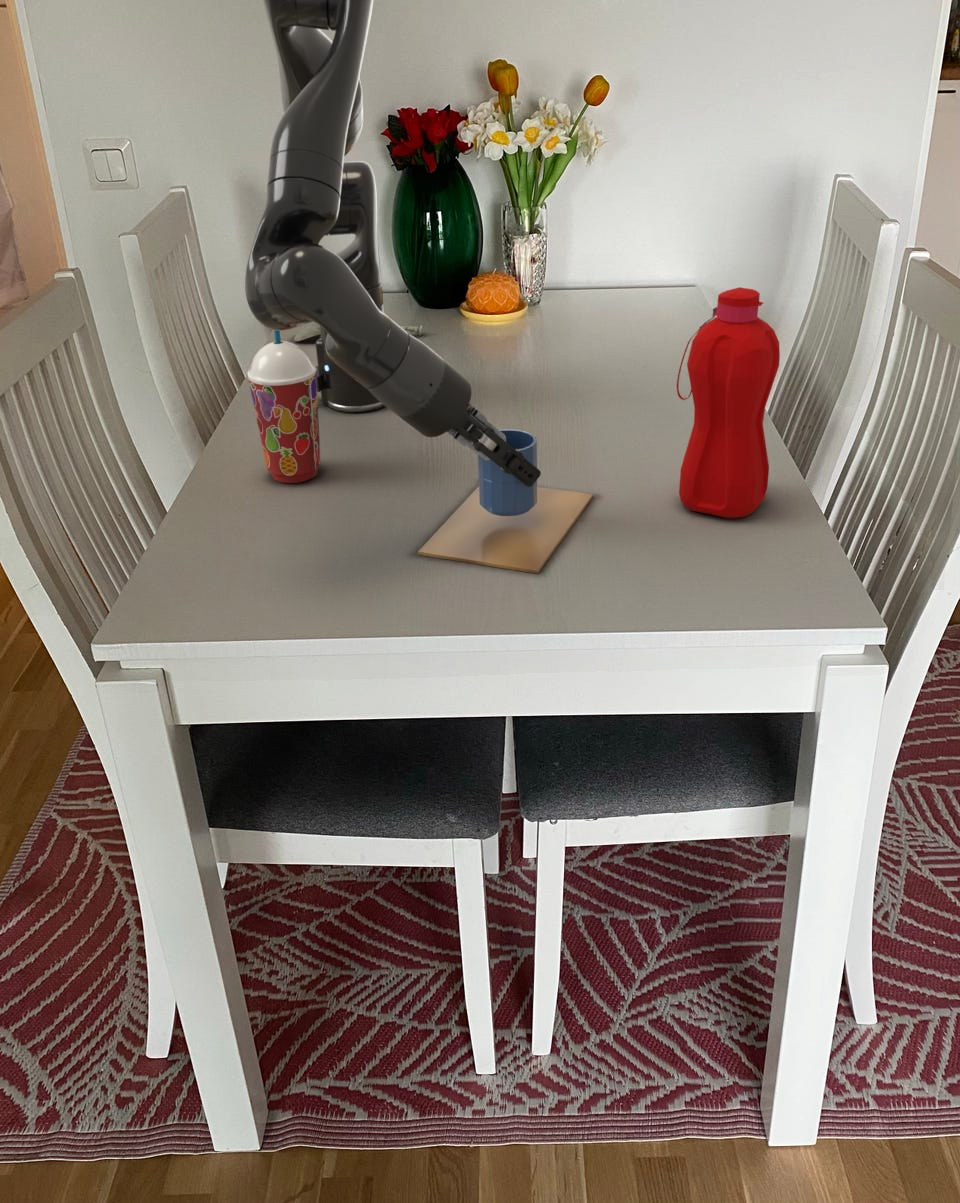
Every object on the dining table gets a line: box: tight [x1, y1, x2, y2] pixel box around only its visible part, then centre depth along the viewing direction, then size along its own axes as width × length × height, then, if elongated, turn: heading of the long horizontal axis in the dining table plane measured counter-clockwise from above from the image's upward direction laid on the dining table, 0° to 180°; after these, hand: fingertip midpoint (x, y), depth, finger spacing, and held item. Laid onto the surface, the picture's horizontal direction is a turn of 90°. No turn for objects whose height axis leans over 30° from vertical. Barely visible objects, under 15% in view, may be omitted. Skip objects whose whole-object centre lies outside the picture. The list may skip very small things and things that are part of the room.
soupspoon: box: [293, 322, 423, 343], centre depth 195 cm, size 22×3×7 cm
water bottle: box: [676, 286, 781, 520], centre depth 129 cm, size 9×11×25 cm
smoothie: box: [246, 330, 322, 484], centre depth 141 cm, size 8×8×20 cm
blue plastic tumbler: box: [477, 428, 538, 516], centre depth 129 cm, size 6×6×8 cm
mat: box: [417, 485, 594, 574], centre depth 132 cm, size 14×20×1 cm
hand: (520, 467), depth 129 cm, fingers closed on blue plastic tumbler, 6 cm apart
